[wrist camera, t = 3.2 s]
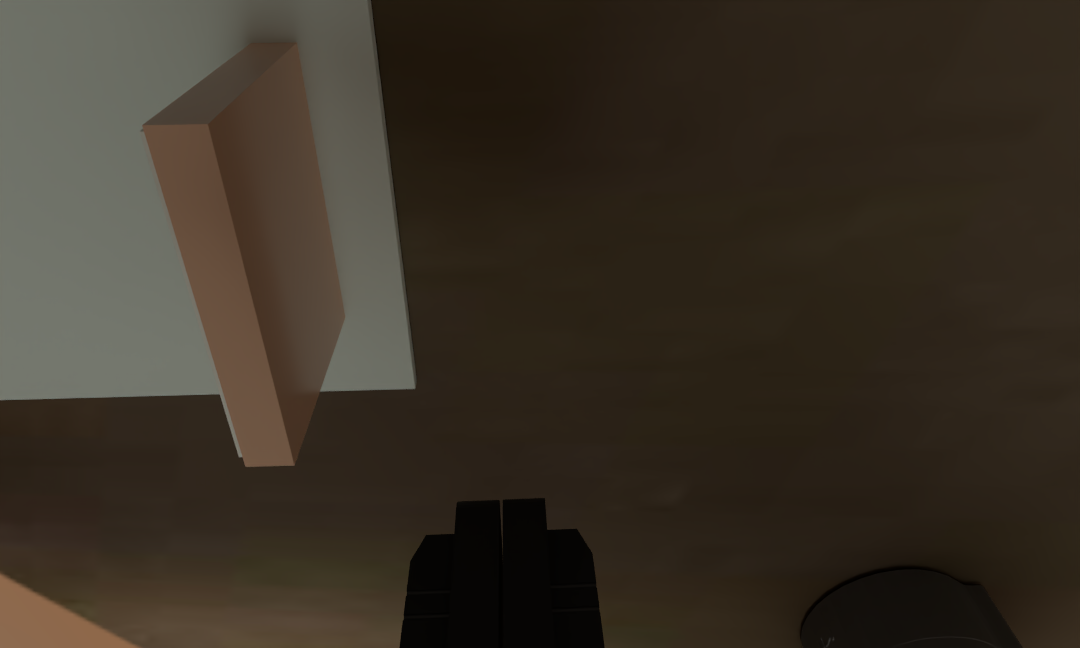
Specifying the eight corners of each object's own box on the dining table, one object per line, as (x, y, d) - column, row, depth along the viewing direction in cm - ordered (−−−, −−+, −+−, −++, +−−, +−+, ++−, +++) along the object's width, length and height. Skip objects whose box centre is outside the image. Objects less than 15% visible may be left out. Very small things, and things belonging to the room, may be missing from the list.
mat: (360, -91, 21) (356, -89, 21) (416, 379, 30) (415, 388, 30) (-283, -85, 21) (-302, -83, 20) (-28, 391, 30) (-37, 401, 29)
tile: (296, 42, 23) (207, 124, 16) (345, 317, 28) (294, 465, 21) (244, 42, 23) (132, 125, 16) (302, 318, 28) (238, 466, 21)
